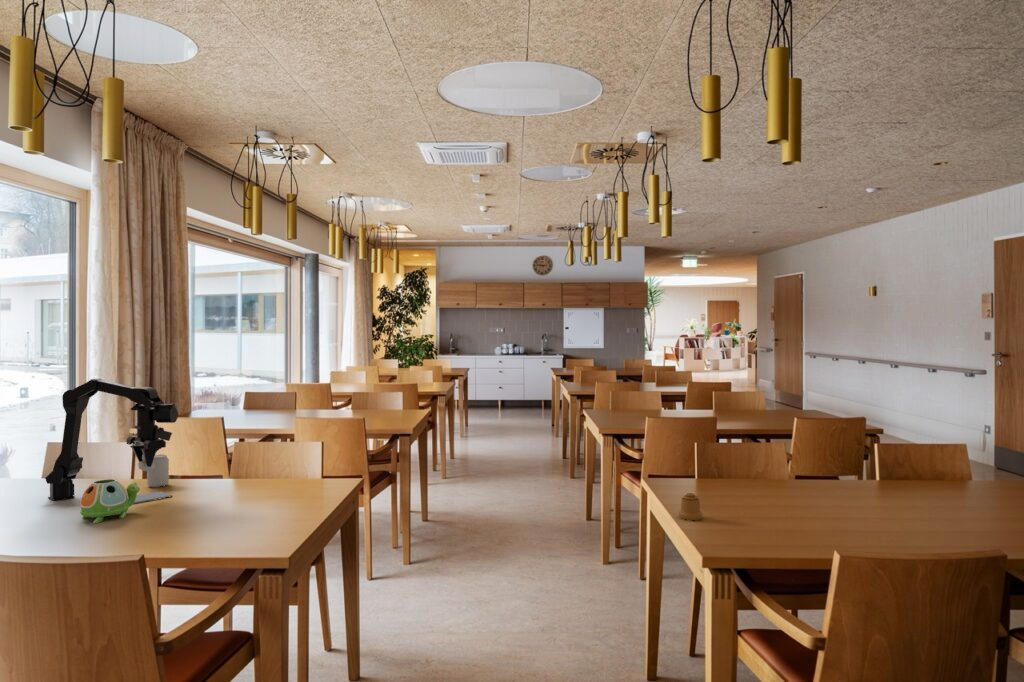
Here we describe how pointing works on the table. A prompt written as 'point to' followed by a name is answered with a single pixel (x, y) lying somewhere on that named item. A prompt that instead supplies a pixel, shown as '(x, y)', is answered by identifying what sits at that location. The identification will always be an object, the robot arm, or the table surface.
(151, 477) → the can
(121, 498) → the turtle holder
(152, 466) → the off-white lumpy chunk
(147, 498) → the grey mat
